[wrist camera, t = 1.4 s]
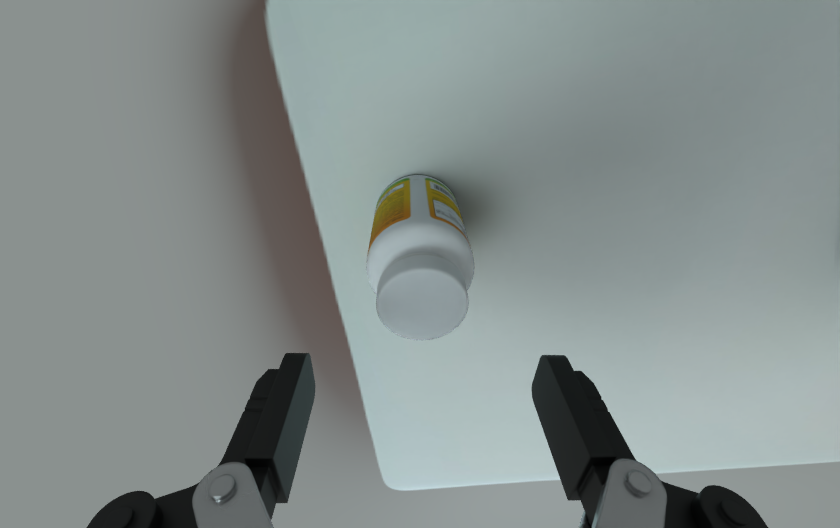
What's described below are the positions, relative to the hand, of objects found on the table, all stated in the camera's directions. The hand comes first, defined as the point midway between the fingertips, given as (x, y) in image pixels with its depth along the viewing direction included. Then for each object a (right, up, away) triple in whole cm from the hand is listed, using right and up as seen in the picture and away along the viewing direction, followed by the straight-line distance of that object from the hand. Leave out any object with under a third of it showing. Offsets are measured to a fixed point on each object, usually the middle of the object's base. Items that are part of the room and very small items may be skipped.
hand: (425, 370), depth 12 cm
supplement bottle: (0, +7, +11) cm, 13 cm away
